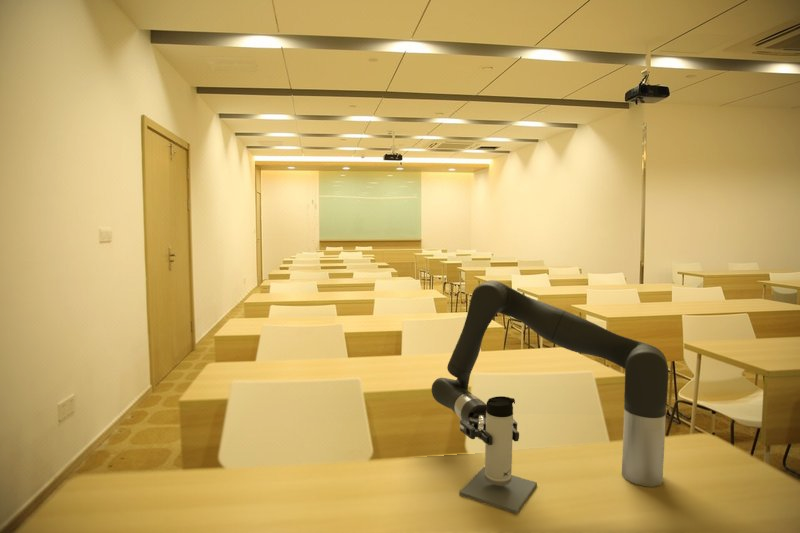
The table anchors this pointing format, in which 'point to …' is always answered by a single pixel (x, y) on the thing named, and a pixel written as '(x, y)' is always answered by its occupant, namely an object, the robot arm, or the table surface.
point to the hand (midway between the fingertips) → (504, 439)
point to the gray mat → (499, 492)
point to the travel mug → (499, 440)
